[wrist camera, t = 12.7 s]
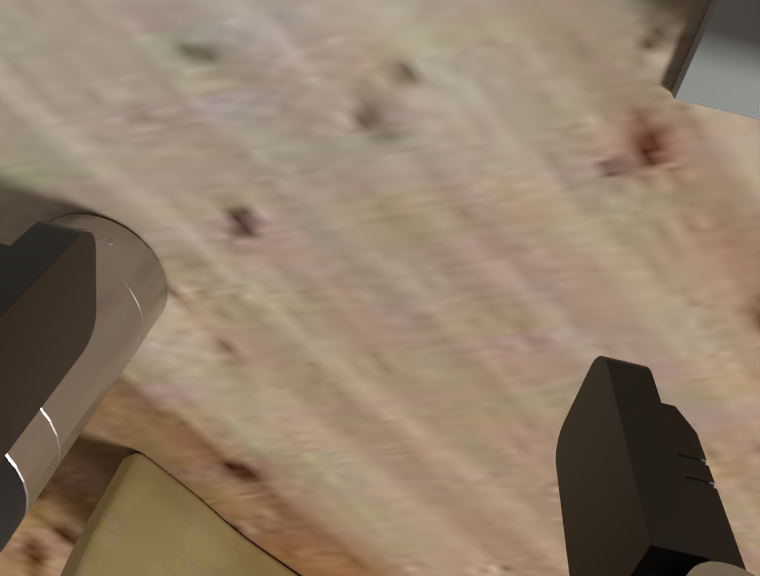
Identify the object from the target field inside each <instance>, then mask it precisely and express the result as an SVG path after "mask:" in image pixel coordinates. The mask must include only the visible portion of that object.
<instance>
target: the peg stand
mask: <svg viewBox="0 0 760 576" xmlns="http://www.w3.org/2000/svg"><path fill="white" fill-rule="evenodd" d="M671 93H672V95H673V97H674V98H675V99H677V100H681V101H685V102H689V103H693V104H697V105H701V106H705V107H710V108H714V109H718V110H722V111H726V112H730V113H734V114H738V115H743V116H747V117H751V118H755V119H759V120H760V0H711V2H710V4H709V7H708V9H707V11H706V13H705V16H704V18H703V20H702V23H701V25H700V27H699V29H698V32H697V34H696V36H695V39H694V41H693V43H692V45H691V48H690V50H689V52H688V55H687V57H686V59H685V61H684V64H683V66H682V68H681V71H680V73H679V75H678V78H677V80H676V82H675V84H674V87H673V89H672V91H671Z"/></svg>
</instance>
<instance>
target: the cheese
mask: <svg viewBox="0 0 760 576" xmlns="http://www.w3.org/2000/svg"><path fill="white" fill-rule="evenodd" d="M61 576H298V575H297V574H295V573H294V572H292V571H291V570H289V569H288V568H287V567H285V566H284V565H282V564H281V563H279V562H278V561H276V560H275V559H273V558H272V557H271V556H269V555H268V554H266V553H265V552H264V551H262V550H261V549H259V548H258V547H257V546H255V545H254V544H253V543H251V542H250V541H248V540H247V539H246V538H245V537H243V536H242V535H241V534H240V533H238V532H237V531H236V530H235V529H233V528H232V527H231V526H230V525H229V524H227V523H226V522H225V521H224V520H223V519H222V518H221V517H220V516H218V515H217V514H216V513H215V512H214V511H213V510H212V509H211V508H210V507H208V506H207V505H206V504H205V503H204V502H203V501H202V500H200V499H199V498H198V497H197V496H196V495H194V494H193V493H192V492H191V491H190V490H188V489H187V488H186V487H185V486H183V485H182V484H181V483H180V482H178V481H177V480H176V479H174V478H173V477H172V476H171V475H169V474H168V473H167V472H165V471H164V470H163V469H162V468H160V467H159V466H158V465H156V464H155V463H154V462H153V461H151V460H150V459H149V458H147V457H146V456H144V455H142V454H139V453H134V454H132V455H130V456H127V457H125V458H124V459H123V461H122V462H121V464H120V466H119V467H118V469H117V471H116V473H115V474H114V476H113V478H112V480H111V481H110V483H109V485H108V487H107V489H106V490H105V492H104V494H103V496H102V497H101V499H100V501H99V502H98V504H97V506H96V508H95V509H94V511H93V513H92V515H91V516H90V518H89V520H88V522H87V523H86V525H85V527H84V529H83V531H82V532H81V534H80V536H79V538H78V540H77V542H76V544H75V546H74V548H73V550H72V552H71V554H70V556H69V558H68V560H67V563H66V565H65V567H64V569H63V571H62V574H61Z"/></svg>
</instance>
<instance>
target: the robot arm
mask: <svg viewBox="0 0 760 576" xmlns="http://www.w3.org/2000/svg"><path fill="white" fill-rule="evenodd" d="M166 300H167V284H166V279H165V275H164V272H163V270H162V268H161V265H160V263H159V261H158V260H157V258H156V257H155V255H154V254H153V252H152V251H151V250H150V249H149V248H148V247H147V246H146V244H145V243H144V242H143V241H142V240H141V239H140V238H138V237H137V236H136V235H134V234H133V233H132V232H130V231H129V230H128V229H126V228H124V227H122V226H120V225H118V224H117V223H115V222H113V221H110V220H107V219H104V218H101V217H98V216H91V215H85V214H77V215H67V216H63V217H59V218H56V219H54V220H53V221H51V222H47V221H39V222H37V223H36V224H34V225H33V226H32V227H31V228H30V229H29V230H28V231H26V232H25V233H24V234H23V235H22V236H21V237H20V238H19V239H18V240H16V241H15V242H14V243H13V244H12V245H11V246H8V245H4V244H0V552H1V551H2V550H3V548H4V547H5V545H6V544H7V543H8V541H9V540H10V538H11V537H12V535H13V534H14V532H15V531H16V529H17V528H18V526H19V525H20V523H21V521H22V520H23V519H24V517H25V516H26V514H27V513H28V511H29V510H30V508H31V507H32V505H33V504H34V502H35V501H36V499H37V498H38V496H39V495H40V493H41V492H42V490H43V489H44V487H45V486H46V484H47V483H48V481H49V480H50V478H51V477H52V475H53V474H54V472H55V470H56V469H57V467H58V466H59V465H60V463H61V462H62V460H63V459H64V457H65V456H66V454H67V453H68V451H69V450H70V448H71V447H72V445H73V444H74V442H75V441H76V439H77V438H78V436H79V435H80V433H81V432H82V431H83V429H84V428H85V426H86V425H87V424H88V422H89V421H90V419H91V418H92V416H93V415H94V413H95V412H96V410H97V409H98V407H99V406H100V404H101V403H102V401H103V400H104V398H105V397H106V395H107V394H108V392H109V391H110V389H111V388H112V386H113V385H114V383H115V382H116V380H117V379H118V377H119V376H120V374H121V373H122V371H123V370H124V368H125V367H126V365H127V364H128V362H129V361H130V359H131V358H132V357H133V355H134V354H135V352H136V351H137V349H138V348H139V346H140V345H141V343H142V342H143V340H144V338H145V337H146V335H147V334H148V332H149V331H150V329H151V328H152V326H153V325H154V323H155V322H156V320H157V319H158V317H159V316H160V314H161V313H162V311H163V309H164V306H165V303H166ZM556 468H557V477H558V485H559V493H560V501H561V509H562V517H563V526H564V534H565V542H566V550H567V558H568V566H569V575H570V576H755V575H754V574H752V573H750V572H748V571H746V568H745V566H744V563H743V560H742V557H741V555H740V552H739V549H738V546H737V543H736V541H735V538H734V535H733V532H732V530H731V527H730V524H729V521H728V519H727V516H726V513H725V510H724V507H723V505H722V502H721V499H720V496H719V494H718V491H717V489H716V488H714V483H715V482H714V480H713V477H712V474H711V471H710V469H709V466H707V465H706V458H705V455H704V452H703V449H702V446H701V444H700V441H699V438H698V435H697V433H696V432H695V430H694V429H693V428H692V427H691V425H690V424H689V423H688V422H687V420H686V419H685V418H684V417H683V415H682V414H681V413H680V412H679V411H678V409H677V408H676V407H675V406H672V405H668V404H664V403H661V400H660V397H659V394H658V391H657V388H656V385H655V382H654V378H653V375H652V373H651V370H650V369H649V368H648V367H646V366H642V365H638V364H634V363H629V362H625V361H621V360H617V359H613V358H609V357H604V356H599V357H597V358H596V359H595V360H594V362H593V363H592V365H591V367H590V369H589V371H588V373H587V375H586V377H585V379H584V381H583V384H582V386H581V388H580V390H579V392H578V394H577V396H576V398H575V400H574V402H573V404H572V407H571V409H570V411H569V413H568V415H567V417H566V419H565V421H564V423H563V426H562V428H561V431H560V434H559V438H558V443H557V450H556Z"/></svg>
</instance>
